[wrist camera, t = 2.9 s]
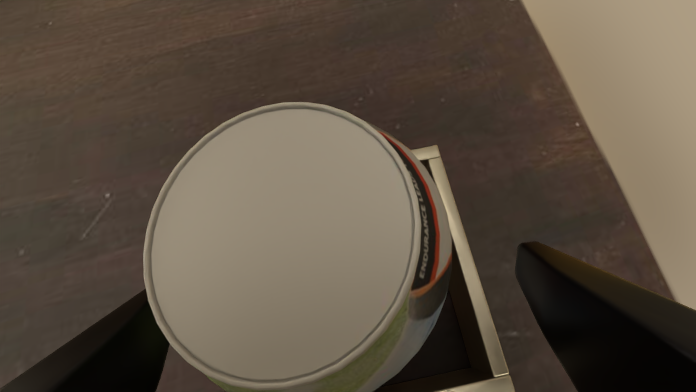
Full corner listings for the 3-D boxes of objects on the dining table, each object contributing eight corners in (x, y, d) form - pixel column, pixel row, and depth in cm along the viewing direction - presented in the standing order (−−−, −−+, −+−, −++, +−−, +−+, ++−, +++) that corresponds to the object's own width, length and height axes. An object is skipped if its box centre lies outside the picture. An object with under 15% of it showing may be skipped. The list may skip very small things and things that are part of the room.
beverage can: (443, 346, 16) (638, 415, 5) (280, 370, 16) (68, 503, 5) (415, 212, 18) (501, 30, 7) (270, 233, 18) (107, 89, 7)
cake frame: (488, 379, 15) (516, 393, 13) (260, 429, 15) (236, 454, 12) (426, 170, 19) (437, 144, 16) (237, 208, 18) (214, 189, 16)
